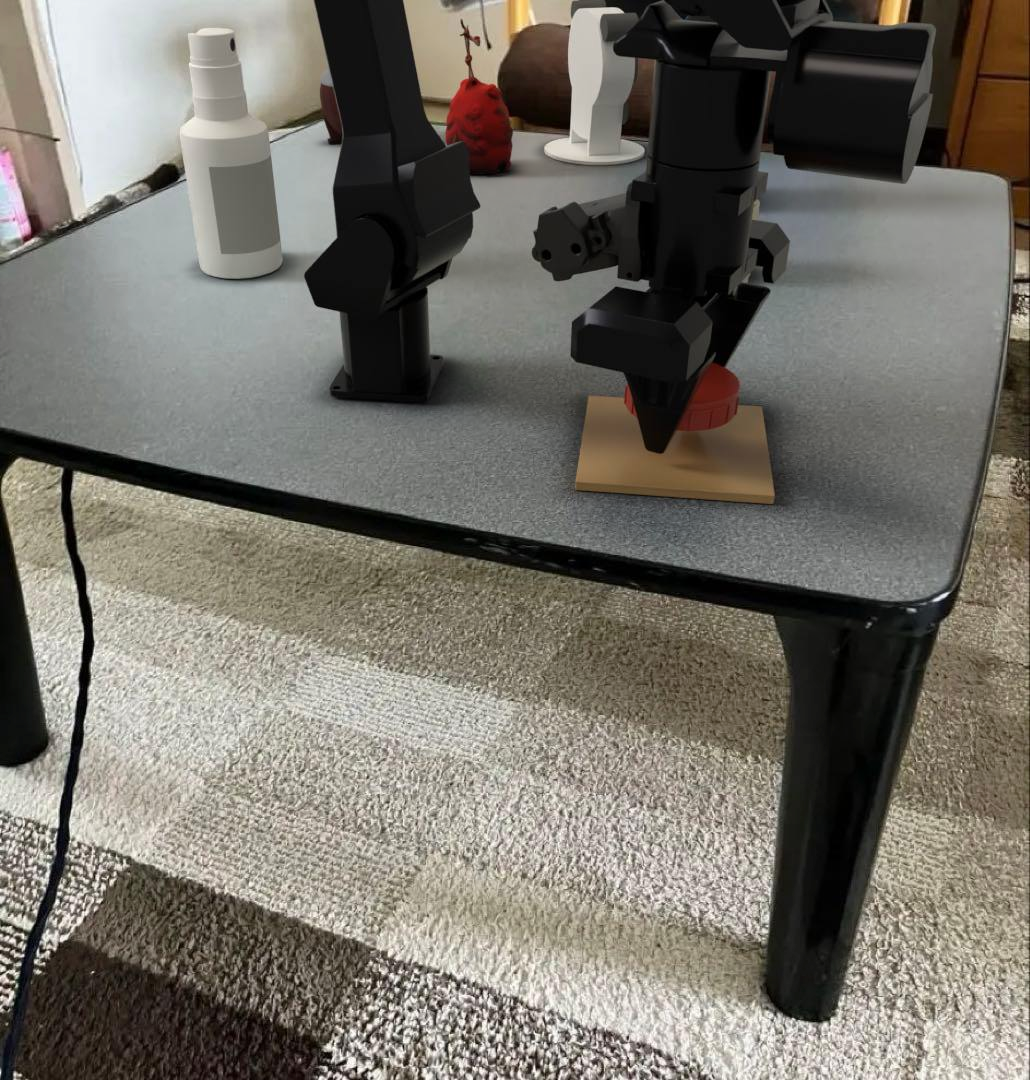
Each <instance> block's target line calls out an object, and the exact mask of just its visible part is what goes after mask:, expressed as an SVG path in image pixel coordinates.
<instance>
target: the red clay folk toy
mask: <svg viewBox="0 0 1030 1080" xmlns="http://www.w3.org/2000/svg"><path fill="white" fill-rule="evenodd" d="M460 26H461V28H462V29H463V32H462V33H460V34H459V37H463V39H464V44H465V50H466V55H465V57H464V63H465V64H466V65H467V66H468V78H464V79H463V80H461V81H460V84H459V88H458V90H457V91H456V93H455V94H454V96H453V98H452V99H451V101H450V104H449V111H448V113H447V116H446V121H445V126H446V129H445V135H444V136H445V143H446V144H445V145H446V146H448V145H451V144H454V143H457V142H460V141H463V142H465V143H466V146H467V149H468V152H469V164H470V174H473V175H490V174H497V173H499V172H507V171H509V170H510V169H511V167H512V162H511V158H512V151H513V141H512V138H513V134H514V131H513V127H512V125H511V118H510V113H509V109H508V107H507V105H506V104H505V103H504V100H503V92H502V90H501V88H499V87H497V85H496V84H495V83H489V84H488V83H484V82H482V81H481V80H480V79H478V78H477V77H476V76H475V75H474V71H473V68H472V67H473V66H472V61H473V56H472V54H471V42H473V43H474V45H475V46H477V47H481V37H480V36H479V35H474V36H473V35H471V34H470V30H469V24H466V26H465V24H464V20H463V18H460ZM470 41H471V42H470Z"/></svg>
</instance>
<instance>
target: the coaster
mask: <svg viewBox="0 0 1030 1080" xmlns="http://www.w3.org/2000/svg"><path fill="white" fill-rule="evenodd" d="M580 443H581V444H580V449H579V456H578V462H577V463H578V464H577V468H576V476H575V482H574V483H575V484H574V485H575V486H574V489H575V491H583V492H598V493H612V494H624V495H625V494H626V495H641V496H652V497H653V496H654V497H666V498H667V497H668V498H681V499H695V500H696V499H697V500H698V499H699V500H708V501H709V500H711V501H724V502H737V503H738V502H739V503H750V504H751V503H752V504H764V505H774V503H775V498H776V494H775V493H776V492H775V487H774V480H773V479H774V478H773V473H772V467H771V459H770V453H769V446H768V439H767V432H766V425H765V418H764V410H763V406H760V405H745V404H744V405H743V404H738V409H737V415H735V416H734V417H733V418H732V420H731V421H729V422H728V423H726V424H724V425H722V426H720V427H717V428H713V429H709V430H701V431H678V430H676V432H675V434H674V436H673V438H672V440H671V442H670V444H669V445H668V447H667V449H666V451H665V452H664V453H663V454H658V453H654V452H650V451H647V450H646V448H645V446H644V442H643V438H642V434H641V430H640V426H639V422H638V419H637V418H636V417H635V416H634V415H632V414H631V413H630V412H629V410H628V409H627V407H626V404H624V397H619V396H618V397H617V396H603V395H588V398H587V403H586V410H585V418H584V423H583V430H582V437H581V442H580Z"/></svg>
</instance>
